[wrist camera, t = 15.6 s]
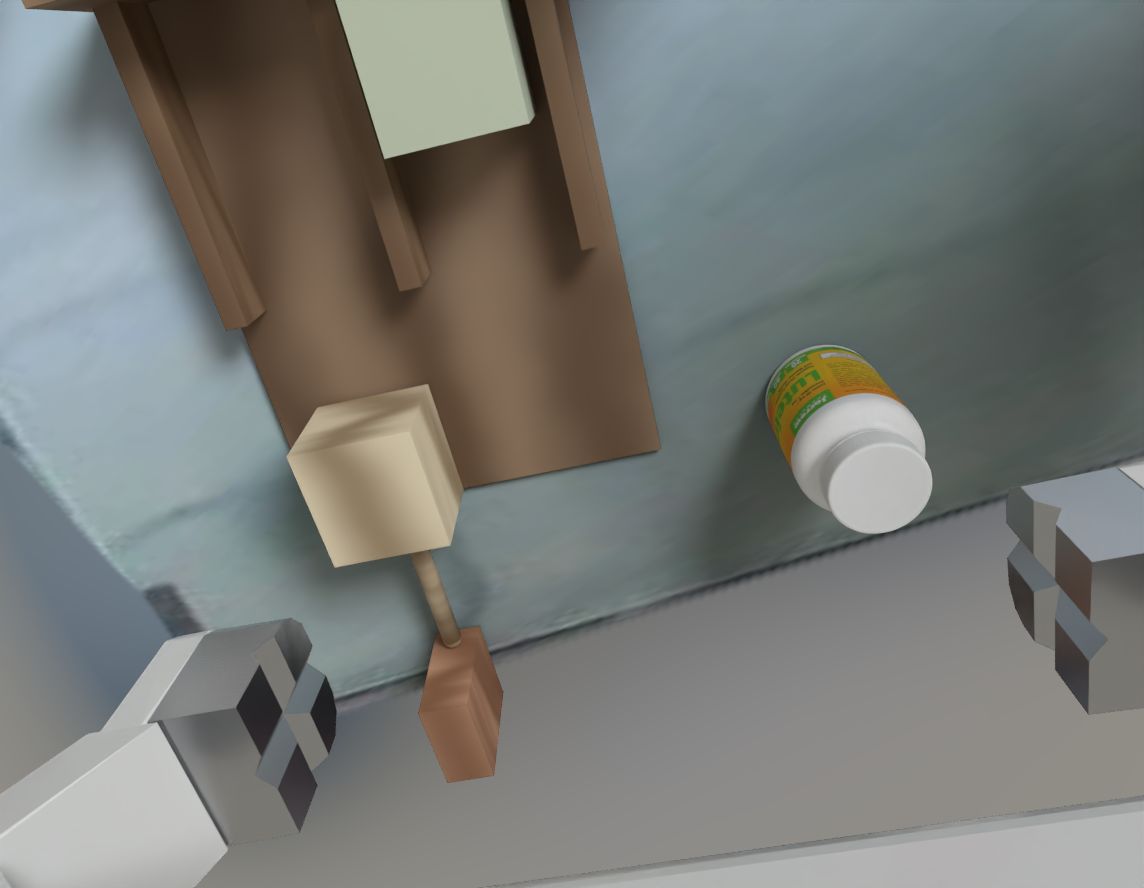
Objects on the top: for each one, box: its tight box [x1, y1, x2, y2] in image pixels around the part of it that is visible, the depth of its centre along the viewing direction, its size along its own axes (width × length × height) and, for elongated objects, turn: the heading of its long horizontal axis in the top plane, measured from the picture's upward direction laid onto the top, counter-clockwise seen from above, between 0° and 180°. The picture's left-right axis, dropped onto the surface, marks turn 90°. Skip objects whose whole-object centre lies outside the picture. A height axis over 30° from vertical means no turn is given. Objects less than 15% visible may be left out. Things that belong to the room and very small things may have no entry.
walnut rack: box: [22, 0, 661, 488], centre depth 36 cm, size 18×25×6 cm
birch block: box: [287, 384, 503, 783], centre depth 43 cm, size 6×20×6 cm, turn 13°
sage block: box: [336, 0, 537, 159], centre depth 33 cm, size 6×6×5 cm
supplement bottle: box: [765, 345, 932, 534], centre depth 37 cm, size 5×5×10 cm
